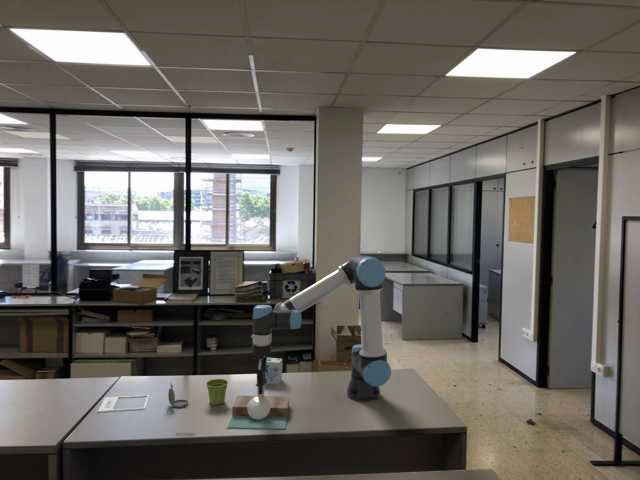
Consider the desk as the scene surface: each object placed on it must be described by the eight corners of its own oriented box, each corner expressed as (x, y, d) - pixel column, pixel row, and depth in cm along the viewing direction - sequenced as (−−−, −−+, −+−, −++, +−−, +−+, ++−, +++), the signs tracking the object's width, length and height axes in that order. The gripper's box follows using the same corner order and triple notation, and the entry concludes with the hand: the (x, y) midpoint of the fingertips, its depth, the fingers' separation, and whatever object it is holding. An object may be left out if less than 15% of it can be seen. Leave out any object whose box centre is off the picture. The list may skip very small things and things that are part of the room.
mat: (287, 417, 194) (287, 416, 194) (285, 429, 183) (285, 428, 183) (232, 416, 194) (232, 415, 193) (227, 428, 183) (227, 427, 183)
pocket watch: (191, 403, 205) (191, 380, 205) (177, 410, 198) (178, 386, 197) (176, 400, 209) (176, 377, 208) (162, 406, 201) (162, 383, 201)
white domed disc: (271, 398, 196) (270, 396, 195) (269, 420, 190) (269, 418, 188) (248, 398, 196) (248, 396, 195) (246, 420, 190) (245, 418, 188)
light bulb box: (257, 383, 232) (257, 360, 231) (261, 378, 239) (261, 356, 238) (278, 384, 230) (279, 362, 230) (282, 380, 237) (282, 358, 236)
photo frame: (105, 397, 209) (149, 394, 213) (105, 399, 209) (149, 396, 213) (97, 410, 194) (144, 407, 198) (97, 413, 194) (144, 410, 198)
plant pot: (223, 407, 202) (223, 387, 201) (202, 405, 204) (202, 385, 203) (231, 399, 211) (231, 379, 211) (211, 397, 213) (211, 378, 212)
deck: (289, 405, 206) (289, 396, 205) (287, 417, 194) (287, 408, 193) (237, 404, 205) (237, 395, 205) (232, 416, 194) (232, 406, 193)
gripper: (254, 339, 202) (253, 394, 203) (250, 348, 189) (249, 407, 190) (272, 339, 202) (271, 395, 203) (269, 348, 189) (268, 407, 190)
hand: (260, 400), depth 197 cm, fingers closed
